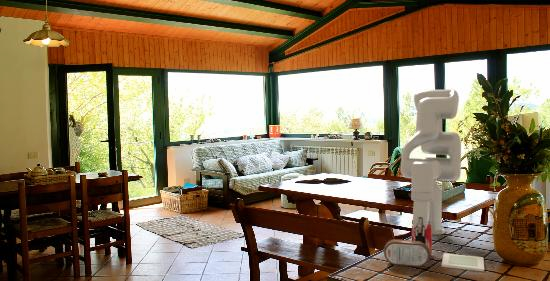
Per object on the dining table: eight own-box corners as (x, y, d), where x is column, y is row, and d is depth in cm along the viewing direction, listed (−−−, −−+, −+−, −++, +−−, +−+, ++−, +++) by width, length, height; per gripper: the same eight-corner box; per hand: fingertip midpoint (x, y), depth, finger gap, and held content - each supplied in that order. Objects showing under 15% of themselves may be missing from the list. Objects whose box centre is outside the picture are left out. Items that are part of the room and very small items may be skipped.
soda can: (432, 258, 167) (433, 224, 167) (412, 257, 169) (412, 224, 168) (430, 252, 174) (431, 220, 173) (410, 251, 176) (410, 219, 175)
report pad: (443, 255, 171) (443, 252, 171) (483, 259, 166) (483, 257, 166) (441, 266, 159) (441, 264, 159) (484, 271, 154) (484, 268, 154)
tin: (429, 265, 160) (430, 241, 160) (430, 268, 157) (430, 243, 156) (383, 261, 164) (384, 237, 164) (383, 264, 161) (383, 240, 161)
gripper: (414, 191, 180) (413, 236, 181) (408, 199, 164) (407, 248, 165) (435, 192, 177) (434, 238, 178) (431, 200, 161) (430, 250, 162)
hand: (421, 243), depth 171 cm, fingers open, 9 cm apart
